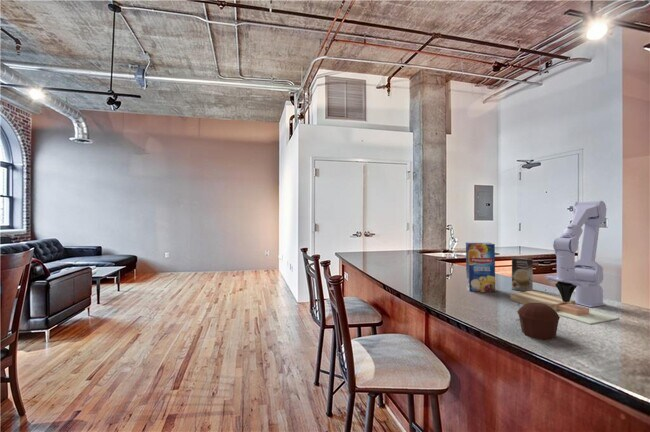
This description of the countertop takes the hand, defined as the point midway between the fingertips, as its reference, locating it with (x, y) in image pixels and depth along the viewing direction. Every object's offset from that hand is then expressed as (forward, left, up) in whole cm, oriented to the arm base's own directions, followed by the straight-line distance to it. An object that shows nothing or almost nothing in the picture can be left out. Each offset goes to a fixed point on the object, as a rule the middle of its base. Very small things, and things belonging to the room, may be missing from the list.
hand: (566, 301), depth 122 cm
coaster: (0, +3, -3) cm, 4 cm away
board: (0, -10, -4) cm, 11 cm away
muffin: (+33, +13, -4) cm, 36 cm away
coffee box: (-15, -31, -4) cm, 35 cm away
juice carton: (+5, -38, -4) cm, 39 cm away
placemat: (0, +6, -4) cm, 7 cm away
